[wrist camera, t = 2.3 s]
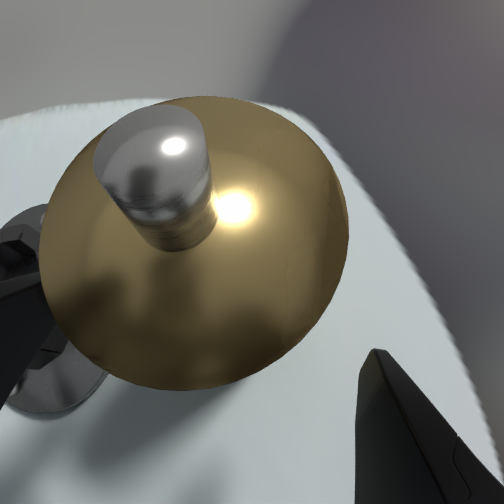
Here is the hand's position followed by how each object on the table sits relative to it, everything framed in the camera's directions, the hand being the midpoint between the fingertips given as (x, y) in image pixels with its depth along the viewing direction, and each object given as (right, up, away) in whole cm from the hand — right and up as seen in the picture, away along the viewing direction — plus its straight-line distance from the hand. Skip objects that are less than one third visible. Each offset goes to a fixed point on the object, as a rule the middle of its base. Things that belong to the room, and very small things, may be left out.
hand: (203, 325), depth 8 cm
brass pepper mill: (0, -2, +8) cm, 9 cm away
